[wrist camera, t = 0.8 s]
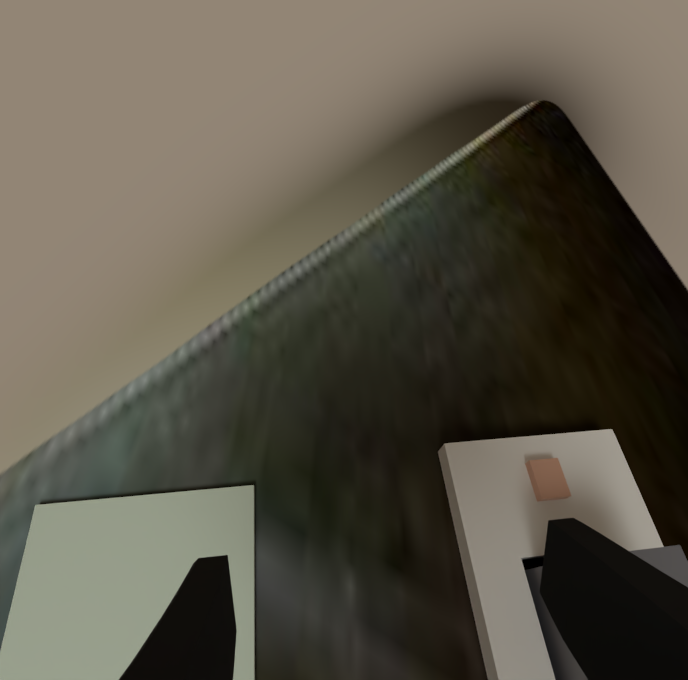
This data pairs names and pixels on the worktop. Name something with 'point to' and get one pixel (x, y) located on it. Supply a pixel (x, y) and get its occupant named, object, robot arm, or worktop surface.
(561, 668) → the block
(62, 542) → the rubber mat
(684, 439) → the worktop surface
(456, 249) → the worktop surface
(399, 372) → the worktop surface
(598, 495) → the white flat block
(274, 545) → the worktop surface
